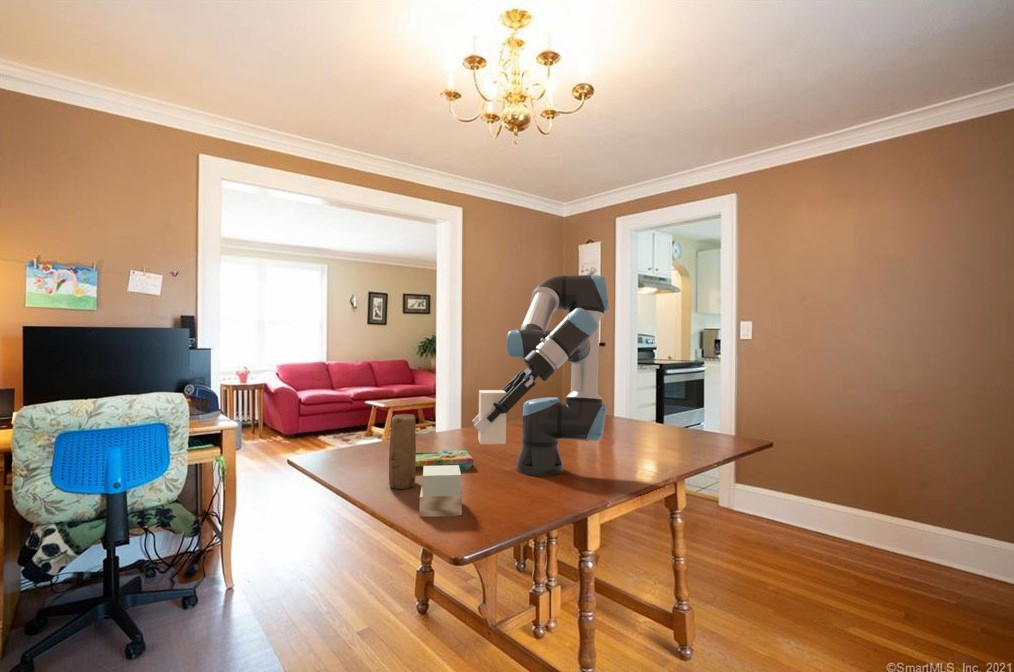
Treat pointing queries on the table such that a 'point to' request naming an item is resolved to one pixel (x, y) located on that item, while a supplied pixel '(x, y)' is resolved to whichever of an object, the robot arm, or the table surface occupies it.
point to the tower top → (441, 481)
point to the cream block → (498, 428)
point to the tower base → (440, 505)
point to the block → (402, 452)
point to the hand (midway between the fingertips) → (476, 427)
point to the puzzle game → (444, 459)
